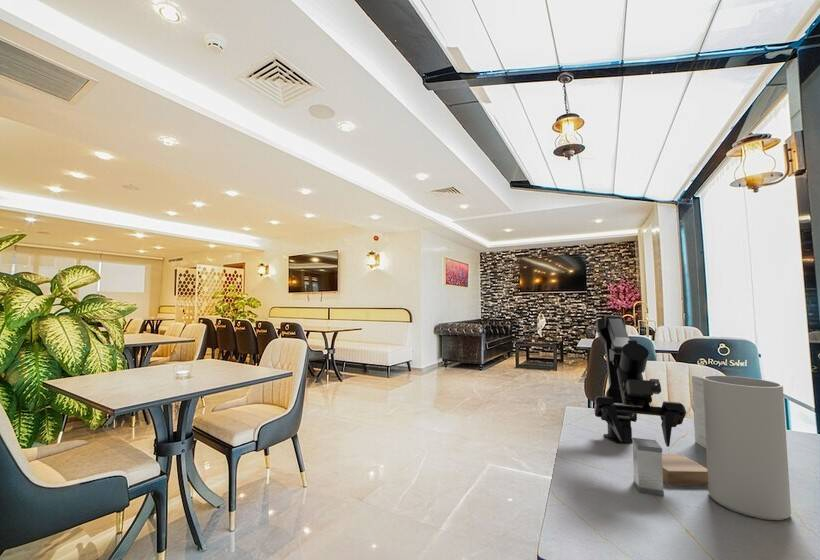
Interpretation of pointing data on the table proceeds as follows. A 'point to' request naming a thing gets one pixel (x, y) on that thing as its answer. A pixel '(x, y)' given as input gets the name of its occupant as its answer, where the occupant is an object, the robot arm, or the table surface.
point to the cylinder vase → (747, 446)
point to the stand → (683, 471)
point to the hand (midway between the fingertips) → (644, 443)
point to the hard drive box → (699, 410)
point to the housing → (648, 466)
